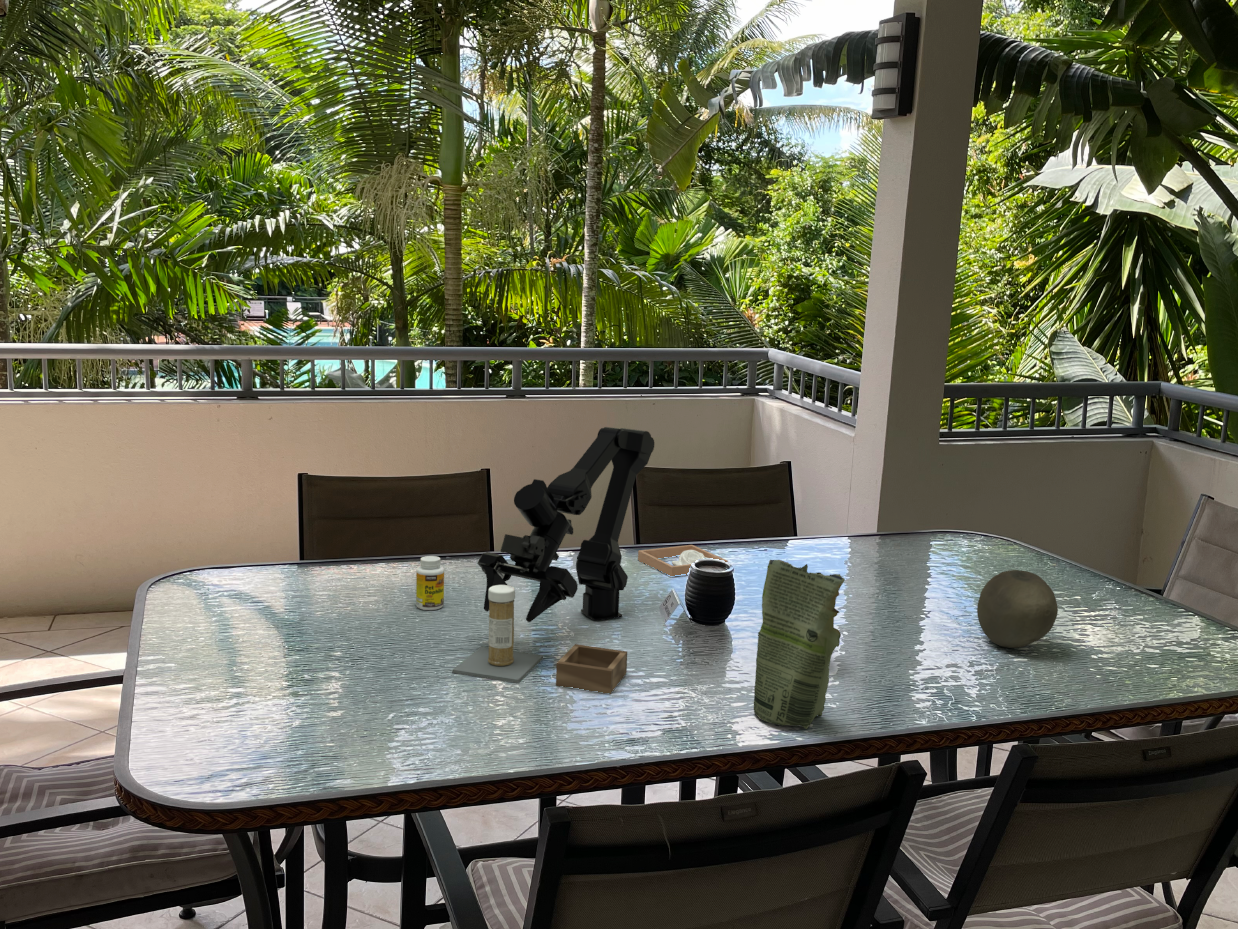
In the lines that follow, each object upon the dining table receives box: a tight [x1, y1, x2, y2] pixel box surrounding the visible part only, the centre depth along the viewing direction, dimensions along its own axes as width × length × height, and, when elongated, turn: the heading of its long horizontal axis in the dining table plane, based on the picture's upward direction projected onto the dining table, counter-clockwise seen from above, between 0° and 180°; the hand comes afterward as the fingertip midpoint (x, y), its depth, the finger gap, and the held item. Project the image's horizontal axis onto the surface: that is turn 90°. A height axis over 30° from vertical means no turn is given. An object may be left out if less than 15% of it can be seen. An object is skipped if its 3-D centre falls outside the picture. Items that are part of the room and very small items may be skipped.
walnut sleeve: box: [555, 643, 628, 695], centre depth 168 cm, size 10×10×4 cm
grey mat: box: [451, 645, 545, 684], centre depth 173 cm, size 12×12×1 cm
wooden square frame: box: [637, 544, 729, 576], centre depth 239 cm, size 16×16×2 cm
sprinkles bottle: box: [488, 584, 516, 666], centre depth 171 cm, size 5×5×13 cm
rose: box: [671, 550, 707, 566], centre depth 238 cm, size 10×4×10 cm
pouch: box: [753, 559, 846, 730], centre depth 154 cm, size 11×12×25 cm
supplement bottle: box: [415, 555, 445, 611], centre depth 201 cm, size 6×6×10 cm
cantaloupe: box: [976, 569, 1059, 649], centre depth 190 cm, size 14×14×15 cm
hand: (506, 615), depth 173 cm, fingers open, 9 cm apart
